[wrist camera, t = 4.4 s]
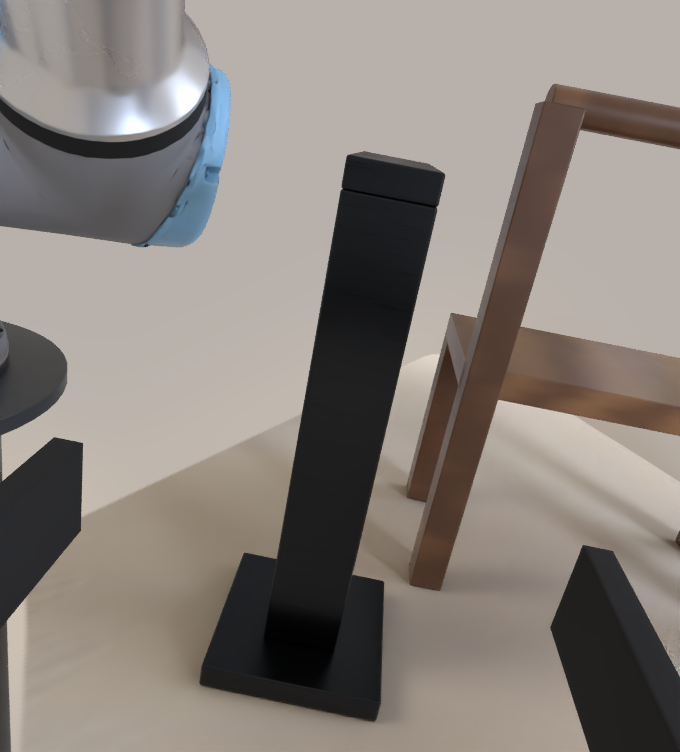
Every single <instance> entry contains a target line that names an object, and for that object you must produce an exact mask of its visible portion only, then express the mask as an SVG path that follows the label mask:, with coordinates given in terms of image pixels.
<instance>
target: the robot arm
mask: <svg viewBox="0 0 680 752" xmlns="http://www.w3.org/2000/svg"><path fill="white" fill-rule="evenodd" d="M184 9H185V0H0V226H5V227H13V228H20V229H28V230H36V231H43V232H51V233H59V234H66V235H73V236H80V237H87V238H94V239H100V240H108V241H115V242H121V243H128V244H131V245H133V246H137V247H148V246H150V245H154V246H167V247H184V246H187V245H189V244H191V243H193V242H194V241H195V240H196V239H197V238H198V237H199V236H200V235H201V234H202V232H203V230H204V228H205V226H206V224H207V222H208V219H209V216H210V214H211V210H212V207H213V204H214V201H215V197H216V193H217V188H218V183H219V172H220V170H221V166H222V163H223V159H224V155H225V150H226V144H227V136H228V129H229V120H230V97H231V93H230V84H229V80H228V78H227V77H226V75H225V74H224V73H223V72H222V71H221V70H219V69H216V68H214V67H213V66H212V65H211V64H210V63H209V58H208V54H207V49H206V45H205V42H204V40H203V38H202V36H201V34H200V32H199V30H198V28H197V27H196V26H195V24H194V22H193V21H192V20H191V18H190V17H189V16H188V15H187V14H186V13H185V11H184ZM8 366H9V342H8V339H7V334H6V330H5V328H4V325H3V323H2V322H1V321H0V377H1V376H2V375H3V374H4V373H5V372H6V370H7V368H8ZM82 458H83V443H79V442H75V441H70V440H65V439H60V438H55V437H54V438H53V439H52V440H51V441H49V442H48V443H47V444H46V445H45V446H44V447H42V448H41V449H40V450H39V451H37V452H36V453H35V454H34V455H33V456H32V457H30V459H28V460H27V461H26V462H25V463H24V464H22V465H21V466H20V467H19V468H18V469H16V470H15V471H14V472H13V473H12V474H11V475H9V476H8V477H7V478H6V479H5V480H3V481H2V482H1V483H0V628H1V627H2V626H3V625H4V623H5V622H6V621H7V620H8V618H9V617H10V616H11V615H12V613H13V612H14V611H15V610H16V609H17V607H18V606H19V605H20V604H21V603H22V601H23V600H24V599H25V598H26V597H27V595H28V594H29V593H30V592H31V590H32V589H33V588H34V587H35V586H36V584H37V583H38V582H39V581H40V580H41V578H42V577H43V576H44V575H45V573H46V572H47V571H48V570H49V569H50V567H51V566H52V565H53V564H54V562H55V561H56V560H57V559H58V558H59V556H60V555H61V554H62V553H63V552H64V550H65V549H66V548H67V547H68V545H69V544H70V543H71V542H72V541H73V539H74V538H75V537H76V536H77V534H78V533H79V532H80V531H81V501H82V499H81V497H82V461H83V459H82ZM550 628H551V631H552V634H553V637H554V640H555V644H556V647H557V650H558V653H559V656H560V659H561V662H562V666H563V669H564V672H565V675H566V678H567V681H568V685H569V688H570V691H571V694H572V697H573V700H574V703H575V707H576V710H577V713H578V716H579V719H580V722H581V725H582V729H583V732H584V735H585V738H586V741H587V744H588V747H589V751H590V752H680V677H679V675H678V673H677V671H676V669H675V667H674V665H673V664H672V662H671V660H670V658H669V656H668V654H667V652H666V650H665V649H664V647H663V645H662V643H661V641H660V639H659V637H658V635H657V633H656V632H655V630H654V628H653V626H652V624H651V622H650V620H649V618H648V617H647V615H646V613H645V611H644V609H643V607H642V605H641V603H640V601H639V600H638V598H637V596H636V594H635V592H634V590H633V588H632V586H631V585H630V583H629V581H628V579H627V577H626V575H625V573H624V571H623V569H622V568H621V566H620V564H619V562H618V560H617V558H616V556H615V554H614V553H613V551H610V550H605V549H600V548H595V547H590V546H585V545H583V547H582V549H581V552H580V554H579V557H578V559H577V562H576V564H575V567H574V569H573V572H572V574H571V577H570V579H569V582H568V584H567V587H566V589H565V592H564V594H563V597H562V599H561V602H560V604H559V607H558V609H557V612H556V614H555V617H554V619H553V622H552V625H551V627H550Z"/></svg>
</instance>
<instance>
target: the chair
mask: <svg viewBox="0 0 680 752" xmlns="http://www.w3.org/2000/svg"><path fill="white" fill-rule="evenodd" d="M580 130H583V131H588V132H593V133H598V134H603V135H609V136H614V137H619V138H624V139H629V140H635V141H640V142H645V143H650V144H656V145H661V146H666V147H671V148H676V149H680V108H679V107H673V106H668V105H663V104H658V103H653V102H647V101H642V100H637V99H632V98H626V97H621V96H616V95H611V94H606V93H600V92H595V91H590V90H585V89H580V88H575V87H569V86H564V85H559V84H553V85H552V87H551V88H550V90H549V92H548V94H547V97H546V99H545V101H544V102H540V103H536V104H535V108H534V111H533V115H532V119H531V122H530V126H529V130H528V133H527V137H526V141H525V144H524V148H523V151H522V155H521V159H520V162H519V166H518V170H517V173H516V177H515V181H514V184H513V188H512V192H511V196H510V199H509V203H508V206H507V210H506V213H505V217H504V221H503V224H502V228H501V232H500V235H499V239H498V243H497V247H496V250H495V254H494V257H493V261H492V264H491V268H490V272H489V275H488V279H487V283H486V287H485V290H484V294H483V297H482V301H481V305H480V308H479V312H478V316H477V318H474V317H469V316H464V315H459V314H454V313H451V314H450V318H449V322H448V326H447V330H446V334H445V338H444V342H443V346H442V349H441V353H440V357H439V361H438V365H437V369H436V373H435V377H434V380H433V384H432V388H431V392H430V396H429V400H428V404H427V408H426V412H425V415H424V419H423V423H422V427H421V431H420V435H419V439H418V443H417V447H416V451H415V454H414V458H413V462H412V466H411V470H410V474H409V478H408V482H407V498H412V499H416V500H421V501H426V505H425V509H424V512H423V516H422V520H421V523H420V527H419V531H418V534H417V538H416V542H415V545H414V549H413V553H412V556H411V560H410V564H409V575H410V585H415V586H420V587H424V588H429V589H434V590H440V589H441V586H442V583H443V579H444V576H445V573H446V569H447V566H448V563H449V560H450V556H451V553H452V550H453V546H454V543H455V540H456V536H457V533H458V530H459V527H460V523H461V520H462V517H463V513H464V510H465V507H466V504H467V500H468V497H469V494H470V490H471V487H472V484H473V480H474V477H475V474H476V471H477V467H478V464H479V461H480V457H481V454H482V451H483V448H484V444H485V441H486V438H487V434H488V431H489V428H490V424H491V421H492V418H493V415H494V411H495V408H496V405H497V401H498V400H503V401H508V402H513V403H518V404H523V405H528V406H533V407H538V408H543V409H548V410H553V411H558V412H563V413H568V414H573V415H578V416H583V417H588V418H593V419H598V420H603V421H608V422H613V423H618V424H623V425H628V426H633V427H638V428H643V429H648V430H653V431H658V432H663V433H668V434H673V435H678V436H680V358H676V357H671V356H666V355H661V354H656V353H651V352H646V351H641V350H636V349H631V348H626V347H620V346H615V345H611V344H605V343H600V342H595V341H590V340H585V339H580V338H575V337H570V336H565V335H560V334H554V333H550V332H545V331H539V330H535V329H529V328H525V327H520V325H521V322H522V319H523V315H524V312H525V309H526V306H527V303H528V299H529V296H530V292H531V289H532V286H533V283H534V279H535V276H536V273H537V269H538V266H539V263H540V260H541V256H542V253H543V250H544V247H545V243H546V240H547V237H548V233H549V230H550V227H551V224H552V220H553V217H554V214H555V210H556V207H557V203H558V200H559V197H560V194H561V191H562V187H563V184H564V181H565V177H566V174H567V171H568V168H569V164H570V161H571V158H572V154H573V151H574V148H575V144H576V141H577V138H578V135H579V131H580ZM676 541H677V542H678V543H679V545H680V531H679V533H678V535H677V537H676Z"/></svg>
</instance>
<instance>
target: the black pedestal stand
mask: <svg viewBox="0 0 680 752" xmlns="http://www.w3.org/2000/svg"><path fill="white" fill-rule="evenodd" d="M444 179H445V174H444V173H443V172H441V171H440V170H438V169H436V168H435V167H433V166H431V165H430V164H427V163H421V162H416V161H411V160H406V159H400V158H396V157H390V156H385V155H380V154H375V153H370V152H365V151H364V152H359V153H355V154H350V155H347V158H346V163H345V169H344V175H343V180H342V188H343V189H342V190H341V192H340V198H339V204H338V209H337V216H336V221H335V227H334V233H333V238H332V244H331V250H330V256H329V261H328V267H327V273H326V279H325V285H324V290H323V296H322V302H321V307H320V313H319V319H318V325H317V331H316V336H315V342H314V348H313V354H312V360H311V365H310V371H309V377H308V382H307V388H306V394H305V400H304V406H303V411H302V417H301V423H300V429H299V434H298V440H297V446H296V452H295V457H294V463H293V469H292V475H291V480H290V486H289V492H288V498H287V503H286V509H285V515H284V521H283V527H282V532H281V538H280V544H279V550H278V555H277V559H273V558H268V557H264V556H259V555H254V554H249V553H244V554H243V557H242V559H241V562H240V565H239V567H238V570H237V573H236V575H235V578H234V581H233V583H232V586H231V589H230V591H229V594H228V597H227V600H226V602H225V605H224V608H223V610H222V613H221V616H220V618H219V621H218V624H217V626H216V629H215V632H214V634H213V637H212V640H211V642H210V645H209V648H208V650H207V653H206V656H205V658H204V661H203V664H202V667H201V675H200V684H201V685H205V686H210V687H214V688H219V689H224V690H229V691H233V692H238V693H243V694H248V695H253V696H257V697H262V698H267V699H272V700H276V701H281V702H286V703H291V704H295V705H300V706H305V707H310V708H315V709H319V710H324V711H329V712H334V713H338V714H343V715H348V716H353V717H357V718H362V719H367V720H372V721H375V720H376V719H377V715H378V711H379V708H380V704H381V676H382V640H383V604H384V582H383V581H380V580H375V579H371V578H366V577H361V576H356V575H352V574H353V570H354V566H355V561H356V557H357V553H358V548H359V544H360V540H361V535H362V531H363V527H364V523H365V518H366V514H367V510H368V505H369V501H370V497H371V493H372V488H373V484H374V480H375V475H376V471H377V467H378V462H379V458H380V454H381V450H382V445H383V441H384V437H385V432H386V428H387V424H388V420H389V415H390V411H391V407H392V402H393V398H394V394H395V389H396V385H397V381H398V377H399V372H400V368H401V364H402V359H403V355H404V351H405V346H406V342H407V338H408V334H409V329H410V325H411V321H412V316H413V312H414V307H415V303H416V299H417V294H418V291H419V286H420V282H421V278H422V273H423V269H424V264H425V261H426V256H427V252H428V248H429V243H430V239H431V235H432V230H433V226H434V221H435V217H436V213H437V208H436V207H437V206H438V205H439V200H440V196H441V192H442V187H443V183H444Z"/></svg>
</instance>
